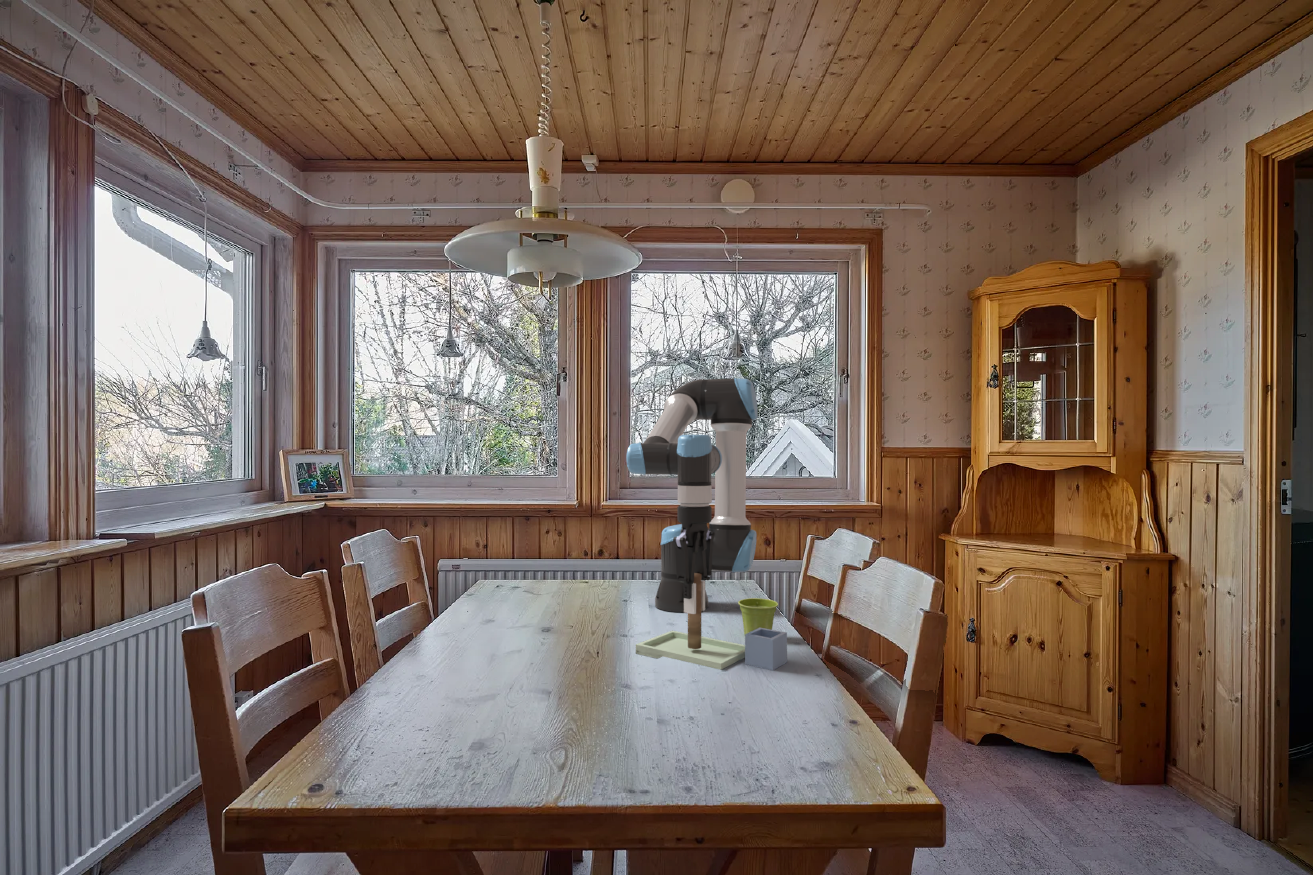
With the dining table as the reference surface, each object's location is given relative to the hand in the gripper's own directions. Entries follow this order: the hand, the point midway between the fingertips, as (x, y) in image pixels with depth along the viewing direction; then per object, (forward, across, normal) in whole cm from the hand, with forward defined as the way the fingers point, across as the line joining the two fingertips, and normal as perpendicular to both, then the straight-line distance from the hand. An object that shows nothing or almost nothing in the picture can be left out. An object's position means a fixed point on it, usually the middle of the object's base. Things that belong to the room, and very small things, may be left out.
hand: (694, 610), depth 153 cm
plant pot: (+10, -19, +6) cm, 22 cm away
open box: (+10, -2, +16) cm, 19 cm away
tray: (+10, 0, 0) cm, 10 cm away
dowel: (+8, 0, 0) cm, 8 cm away
